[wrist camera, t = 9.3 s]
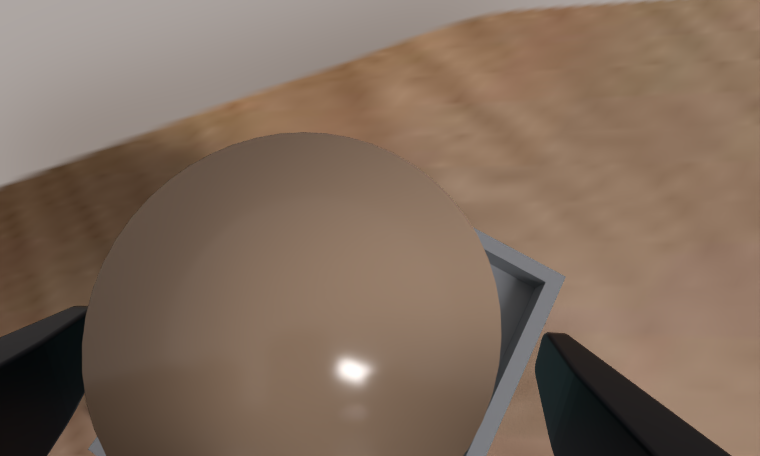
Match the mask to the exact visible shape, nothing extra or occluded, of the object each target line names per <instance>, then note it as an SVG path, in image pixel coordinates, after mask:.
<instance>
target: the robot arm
mask: <svg viewBox="0 0 760 456" xmlns="http://www.w3.org/2000/svg"><path fill="white" fill-rule="evenodd" d="M87 309H88V306H74V307H71V308H69V309H66V310H64V311H61V312H59V313H57V314H54V315H52V316H50V317H47V318H45V319H43V320H40V321H38V322H36V323H33V324H31V325H29V326H26V327H24V328H22V329H19V330H17V331H15V332H12V333H10V334H8V335H5V336H3V337H0V456H47V455H48V454H49V452H50V451H51V449H52V447H53V446H54V444H55V443H56V441H57V440H58V438H59V437H60V435H61V434H62V432H63V430H64V429H65V427H66V426H67V424H68V422H69V421H70V419H71V417H72V415H73V414H74V412H75V410H76V408H77V406H78V404H79V402H80V401H81V399H82V397H83V395H84V393H85V390H84V382H83V375H82V341H83V333H84V325H85V318H86V313H87ZM535 375H536V380H537V384H538V389H539V394H540V398H541V403H542V407H543V412H544V416H545V421H546V426H547V430H548V435H549V439H550V443H551V447H552V450H553V453H554V456H731V455H730V454H728V453H727V452H726V451H724V450H723V449H722V448H720V447H719V446H718V445H716V444H715V443H714V442H712V441H711V440H709V439H708V438H707V437H705V436H704V435H703V434H701V433H700V432H699V431H697V430H696V429H695V428H693V427H692V426H691V425H689V424H688V423H686V422H685V421H684V420H682V419H681V418H680V417H678V416H677V415H676V414H674V413H673V412H672V411H670V410H669V409H668V408H666V407H665V406H664V405H662V404H661V403H659V402H658V401H657V400H655V399H654V398H653V397H651V396H650V395H649V394H647V393H646V392H645V391H643V390H642V389H641V388H639V387H638V386H636V385H635V384H634V383H632V382H631V381H630V380H628V379H627V378H626V377H624V376H623V375H622V374H620V373H619V372H618V371H616V370H615V369H613V368H612V367H611V366H609V365H608V364H607V363H605V362H604V361H603V360H601V359H600V358H599V357H597V356H596V355H595V354H593V353H592V352H590V351H589V350H588V349H586V348H585V347H584V346H582V345H581V344H580V343H578V342H577V341H576V340H574V339H573V338H572V337H570V336H569V335H567V334H565V333H553V332H547V333H545V334H544V335H543V337H542V340H541V344H540V348H539V352H538V356H537V360H536V364H535Z"/></svg>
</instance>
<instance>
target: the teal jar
mask: <svg viewBox="0 0 760 456" xmlns="http://www.w3.org/2000/svg"><path fill="white" fill-rule="evenodd" d="M500 348H501V313H500V304H499V299H498V293H497V287H496V282H495V279H494V276H493V272H492V269H491V266H490V262H489V259H488V257H487V255H486V252H485V250H484V248H483V246H482V244H481V241H480V239H479V237H478V235H477V233H476V232H475V230H474V228H473V227H472V225H471V224H470V222H469V220H468V219H467V217H466V215H465V214H464V213H463V211H462V210H461V209H460V208H459V206H458V205H457V204H456V203H455V201H454V200H453V199H452V198H451V197H450V195H449V194H448V193H447V192H446V191H445V190H443V189H442V188H441V187H440V186H439V185H438V184H437V183H436V182H435V181H434V180H433V179H432V178H431V177H429V176H428V175H427V174H425V173H424V172H423V171H421V170H420V169H419V168H417V167H416V166H415V165H413V164H412V163H410V162H408V161H406V160H405V159H403V158H401V157H399V156H398V155H396V154H394V153H392V152H390V151H387V150H385V149H383V148H380V147H378V146H376V145H373V144H371V143H367V142H364V141H360V140H357V139H353V138H350V137H344V136H338V135H333V134H326V133H307V132H300V133H284V134H276V135H270V136H264V137H259V138H254V139H251V140H247V141H244V142H241V143H237V144H234V145H231V146H229V147H226V148H224V149H222V150H219V151H217V152H215V153H212V154H210V155H208V156H206V157H205V158H203V159H201V160H199V161H197V162H196V163H194V164H192V165H190V166H188V167H187V168H186V169H184V170H183V171H181V172H180V173H179V174H177V175H176V176H174V177H173V178H172V179H170V180H169V181H167V182H166V183H165V184H164V185H163V186H162V187H161V188H160V189H158V190H157V191H156V192H155V193H154V194H153V195H152V196H151V197H150V198H148V200H147V201H146V202H145V203H144V204H143V205H142V206H141V207H140V209H139V210H138V211H137V212H136V213H135V214H134V215H133V216H132V218H131V219H130V220H129V222H128V223H127V225H126V226H125V227H124V229H123V230H122V232H121V233H120V234H119V236H118V237H117V239H116V240H115V242H114V244H113V246H112V248H111V249H110V251H109V253H108V255H107V257H106V259H105V261H104V262H103V265H102V267H101V270H100V272H99V275H98V277H97V280H96V282H95V285H94V287H93V290H92V294H91V298H90V301H89V305H88V309H87V313H86V318H85V325H84V333H83V341H82V375H83V382H84V390H85V397H86V403H87V406H88V410H89V413H90V417H91V420H92V424H93V427H94V430H95V432H96V434H97V437H98V439H99V441H100V443H101V446H102V448H103V450H104V452H105V454H106V456H463V455H464V454H465V452H466V451H467V450H468V448H469V446H470V445H471V443H472V441H473V439H474V437H475V435H476V433H477V431H478V429H479V427H480V425H481V423H482V421H483V419H484V416H485V413H486V411H487V408H488V405H489V402H490V399H491V397H492V394H493V390H494V385H495V381H496V376H497V372H498V367H499V360H500Z"/></svg>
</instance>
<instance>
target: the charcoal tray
mask: <svg viewBox="0 0 760 456" xmlns="http://www.w3.org/2000/svg"><path fill="white" fill-rule="evenodd" d="M474 230H475V232H476V233H477V235H478V237H479V239H480V241H481V244H482V246H483V248H484V250H485V252H486V255H487V257H488V259H489V262H490V266H491V269H492V272H493V276H494V279H495V282H496V287H497V293H498V299H499V304H500V313H501V348H500V360H499V367H498V372H497V376H496V381H495V385H494V390H493V394H492V397H491V399H490V402H489V405H488V408H487V411H486V413H485V416H484V419H483V421H482V423H481V425H480V427H479V429H478V431H477V433H476V435H475V437H474V439H473V441H472V443H471V445H470V446H469V448H468V450H467V451H466V452H465V454H464V455H463V456H486V455H487V452H488V450H489V448H490V446H491V443H492V441H493V439H494V437H495V434H496V432H497V430H498V428H499V425H500V423H501V421H502V419H503V416H504V414H505V412H506V410H507V407H508V405H509V403H510V401H511V398H512V396H513V394H514V392H515V389H516V387H517V385H518V383H519V380H520V378H521V376H522V374H523V371H524V369H525V367H526V365H527V362H528V360H529V358H530V356H531V353H532V351H533V349H534V347H535V345H536V342H537V340H538V338H539V336H540V333H541V331H542V329H543V327H544V324H545V322H546V320H547V318H548V315H549V313H550V311H551V309H552V306H553V304H554V302H555V300H556V297H557V295H558V293H559V291H560V288H561V286H562V284H563V282H564V279H565V276H563V275H561V274H559V273H558V272H556V271H554V270H552V269H550V268H548V267H546V266H544V265H543V264H541V263H539V262H537V261H535V260H533V259H531V258H529V257H528V256H526V255H524V254H522V253H520V252H518V251H516V250H514V249H513V248H511V247H509V246H507V245H505V244H503V243H501V242H499V241H498V240H496V239H494V238H492V237H490V236H488V235H486V234H484V233H482V232H481V231H479V230H477V229H475V228H474ZM88 450H90V451H91V452H92V453H94V454H95V455H97V456H106V454H105V452H104V450H103V448H102V446H101V443H100V441H99V439H98V437H96V439H95V440H94V442H93V443H92V444H91V446H90V447H89V449H88Z"/></svg>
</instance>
